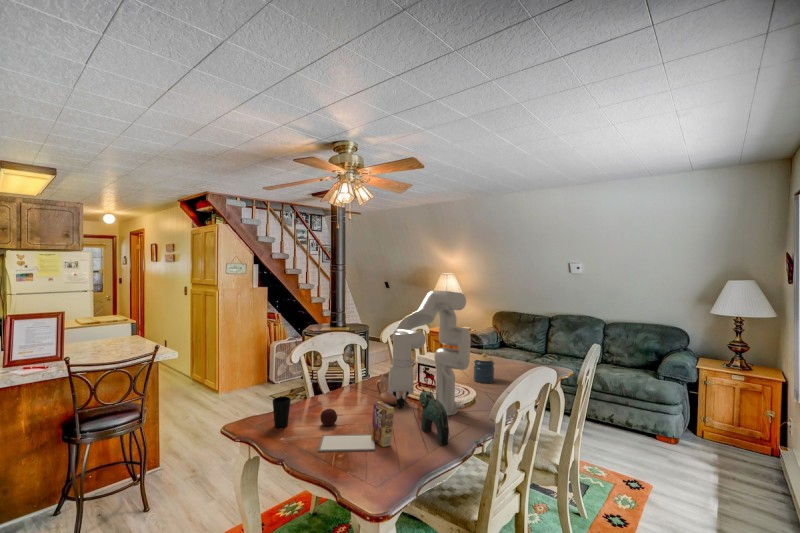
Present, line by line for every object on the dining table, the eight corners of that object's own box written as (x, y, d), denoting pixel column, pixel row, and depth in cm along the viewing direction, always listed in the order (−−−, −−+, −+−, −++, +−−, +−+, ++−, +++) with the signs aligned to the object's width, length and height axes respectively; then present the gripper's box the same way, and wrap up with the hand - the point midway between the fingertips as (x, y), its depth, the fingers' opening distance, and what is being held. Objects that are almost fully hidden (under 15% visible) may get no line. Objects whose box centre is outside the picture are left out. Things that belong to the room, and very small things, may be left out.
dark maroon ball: (317, 424, 178) (317, 409, 178) (330, 420, 183) (331, 405, 183) (326, 429, 173) (327, 413, 173) (340, 424, 178) (341, 409, 178)
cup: (293, 424, 177) (294, 398, 177) (282, 431, 170) (282, 403, 170) (280, 421, 180) (280, 395, 180) (268, 427, 174) (268, 400, 174)
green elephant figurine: (417, 428, 176) (418, 383, 176) (430, 426, 178) (431, 382, 178) (439, 447, 157) (439, 397, 157) (453, 444, 160) (453, 395, 160)
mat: (374, 435, 167) (374, 434, 167) (374, 450, 154) (374, 449, 154) (322, 436, 166) (322, 435, 166) (317, 451, 152) (317, 450, 152)
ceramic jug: (412, 400, 213) (412, 373, 213) (402, 409, 199) (403, 381, 199) (381, 395, 219) (382, 370, 219) (370, 404, 206) (371, 376, 206)
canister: (473, 383, 246) (474, 354, 246) (473, 377, 259) (473, 350, 259) (494, 384, 244) (495, 356, 244) (493, 378, 257) (493, 351, 257)
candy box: (391, 445, 159) (394, 407, 159) (383, 447, 156) (386, 409, 156) (378, 436, 166) (381, 400, 166) (370, 439, 163) (373, 402, 163)
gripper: (418, 361, 165) (417, 404, 165) (383, 360, 164) (381, 404, 164) (420, 365, 158) (419, 411, 158) (383, 364, 157) (382, 411, 157)
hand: (400, 407), depth 161 cm, fingers closed
